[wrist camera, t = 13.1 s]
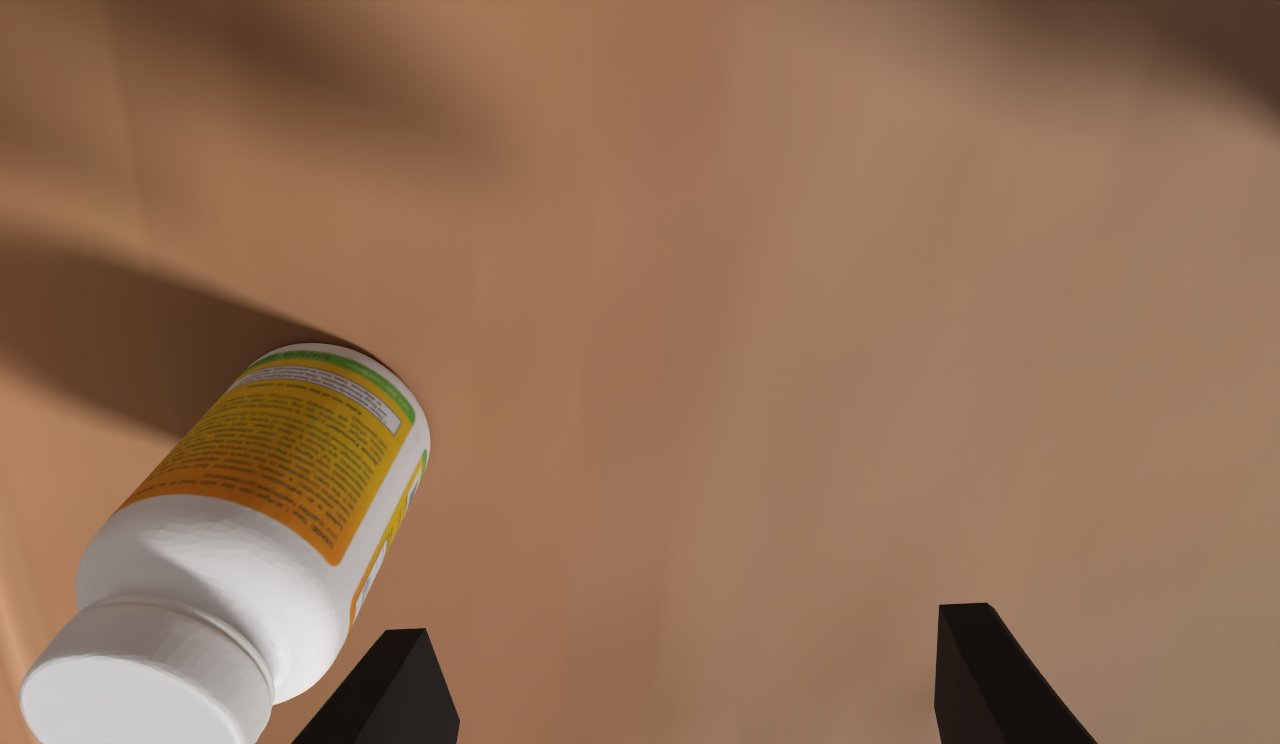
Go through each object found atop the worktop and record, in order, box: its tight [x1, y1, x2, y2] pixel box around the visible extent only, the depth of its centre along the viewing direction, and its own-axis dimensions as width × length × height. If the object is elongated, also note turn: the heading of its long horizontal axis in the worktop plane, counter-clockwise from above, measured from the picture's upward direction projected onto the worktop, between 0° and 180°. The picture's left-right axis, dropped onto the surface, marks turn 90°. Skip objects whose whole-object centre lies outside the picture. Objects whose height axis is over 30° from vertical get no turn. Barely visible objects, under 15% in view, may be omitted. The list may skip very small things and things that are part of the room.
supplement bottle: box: [19, 343, 430, 744], centre depth 19 cm, size 5×5×10 cm
